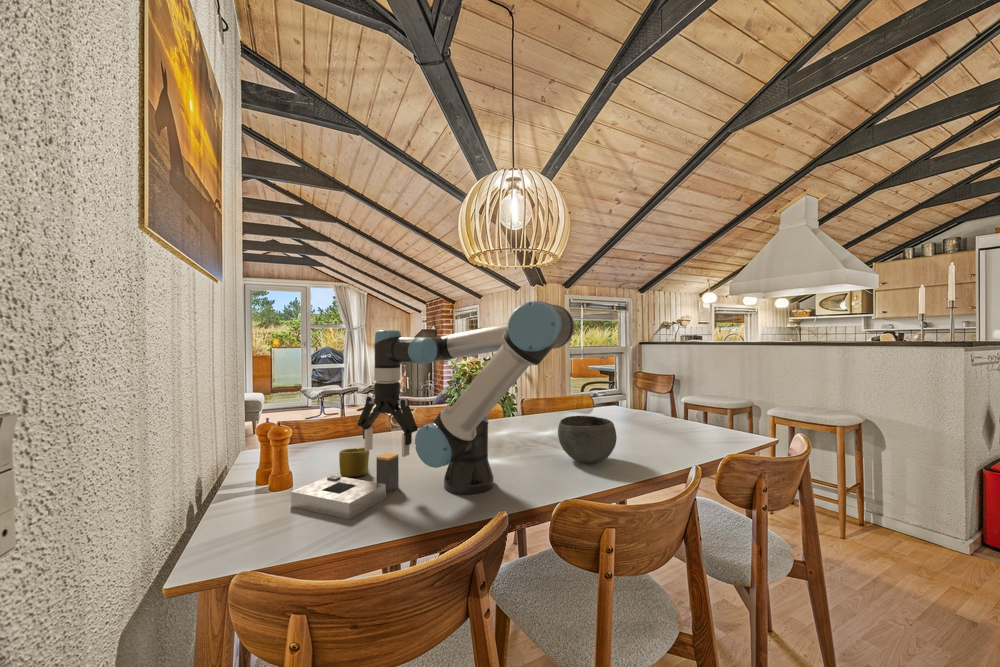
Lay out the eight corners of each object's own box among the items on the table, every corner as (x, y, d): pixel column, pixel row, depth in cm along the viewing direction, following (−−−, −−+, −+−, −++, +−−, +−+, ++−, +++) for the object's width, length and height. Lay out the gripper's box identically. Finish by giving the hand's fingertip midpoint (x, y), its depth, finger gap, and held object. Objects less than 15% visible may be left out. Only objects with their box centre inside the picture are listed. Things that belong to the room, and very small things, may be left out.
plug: (398, 487, 122) (398, 454, 122) (388, 492, 118) (388, 458, 118) (386, 485, 124) (386, 452, 124) (376, 490, 119) (376, 456, 119)
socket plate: (385, 498, 114) (385, 482, 114) (349, 519, 101) (349, 500, 101) (331, 488, 121) (331, 472, 121) (290, 506, 108) (290, 489, 108)
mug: (362, 475, 127) (357, 443, 129) (334, 483, 129) (329, 452, 131) (383, 470, 138) (377, 441, 141) (357, 478, 140) (352, 449, 143)
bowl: (580, 450, 161) (580, 412, 162) (628, 462, 146) (628, 420, 146) (545, 461, 147) (545, 419, 147) (594, 475, 132) (594, 429, 132)
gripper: (429, 382, 120) (429, 454, 120) (363, 378, 129) (362, 444, 129) (415, 385, 113) (414, 461, 113) (345, 380, 122) (344, 451, 122)
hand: (386, 452), depth 121 cm, fingers open, 13 cm apart
